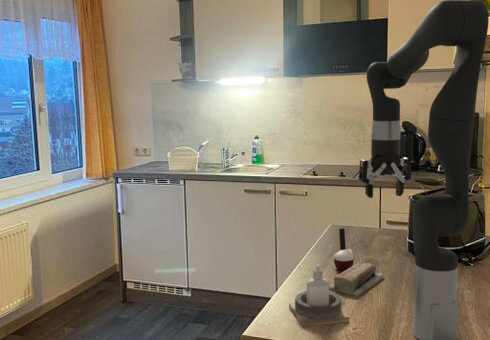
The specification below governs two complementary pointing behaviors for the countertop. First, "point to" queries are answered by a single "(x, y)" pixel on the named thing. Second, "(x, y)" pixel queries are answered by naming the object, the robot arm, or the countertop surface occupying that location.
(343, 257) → the red-capped knob on stick
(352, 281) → the packaged product
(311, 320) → the collar board
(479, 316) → the countertop surface
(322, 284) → the eye dropper bottle
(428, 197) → the robot arm
